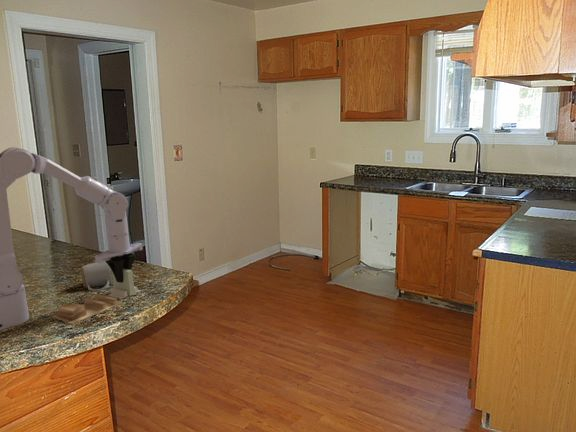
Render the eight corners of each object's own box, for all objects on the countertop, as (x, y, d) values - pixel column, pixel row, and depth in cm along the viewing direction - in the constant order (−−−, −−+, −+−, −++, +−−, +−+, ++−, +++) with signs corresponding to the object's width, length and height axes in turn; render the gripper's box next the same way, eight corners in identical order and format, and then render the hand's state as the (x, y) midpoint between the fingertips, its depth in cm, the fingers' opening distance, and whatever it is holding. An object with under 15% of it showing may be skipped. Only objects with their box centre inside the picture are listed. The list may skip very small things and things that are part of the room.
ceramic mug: (82, 285, 144) (79, 261, 142) (110, 280, 148) (107, 257, 146) (85, 297, 135) (81, 271, 133) (115, 291, 138) (112, 266, 137)
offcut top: (73, 315, 116) (72, 310, 116) (58, 312, 118) (58, 308, 118) (84, 309, 119) (83, 305, 119) (70, 307, 121) (69, 302, 121)
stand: (121, 302, 129) (120, 293, 129) (107, 298, 133) (106, 290, 132) (141, 293, 135) (140, 285, 135) (127, 290, 138) (126, 282, 138)
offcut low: (72, 320, 116) (71, 316, 116) (57, 316, 119) (57, 311, 119) (86, 314, 119) (86, 310, 119) (72, 310, 122) (71, 306, 122)
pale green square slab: (130, 295, 131) (127, 272, 130) (114, 291, 135) (111, 268, 133) (134, 293, 132) (132, 270, 131) (118, 289, 136) (116, 266, 135)
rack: (72, 327, 114) (71, 317, 114) (51, 320, 119) (49, 310, 119) (123, 305, 127) (122, 297, 126) (101, 299, 132) (100, 291, 131)
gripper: (104, 242, 122) (110, 291, 125) (147, 229, 134) (152, 274, 137) (87, 239, 126) (93, 287, 128) (131, 227, 138) (136, 271, 140)
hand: (123, 280), depth 133 cm, fingers closed on pale green square slab, 2 cm apart
